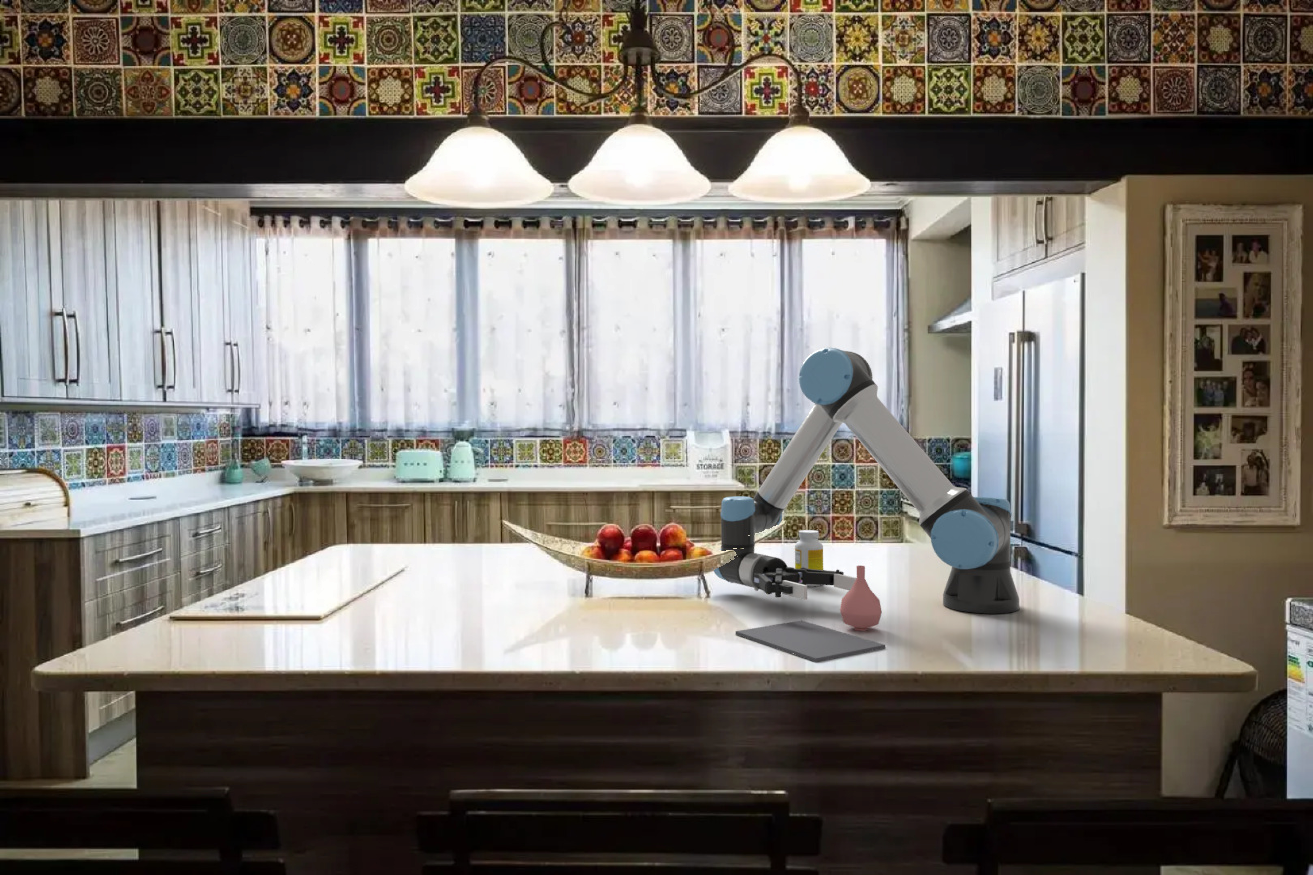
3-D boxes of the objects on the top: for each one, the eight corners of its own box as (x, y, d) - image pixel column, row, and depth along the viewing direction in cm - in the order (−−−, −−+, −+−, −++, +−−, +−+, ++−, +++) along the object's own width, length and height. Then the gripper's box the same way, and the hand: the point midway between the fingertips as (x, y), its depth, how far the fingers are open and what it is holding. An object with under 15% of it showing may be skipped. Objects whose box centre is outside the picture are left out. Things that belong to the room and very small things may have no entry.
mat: (801, 623, 174) (801, 620, 174) (885, 648, 155) (885, 644, 155) (735, 634, 166) (735, 631, 166) (815, 662, 147) (815, 658, 147)
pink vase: (875, 636, 164) (875, 571, 164) (834, 631, 168) (834, 567, 167) (886, 627, 171) (886, 564, 170) (847, 622, 174) (847, 561, 174)
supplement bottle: (827, 583, 215) (827, 530, 214) (817, 588, 209) (817, 533, 209) (801, 581, 218) (801, 528, 218) (790, 585, 213) (790, 531, 212)
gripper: (808, 584, 200) (878, 600, 182) (717, 596, 187) (782, 615, 169) (808, 550, 200) (878, 564, 182) (717, 560, 187) (782, 576, 169)
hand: (832, 589), depth 175 cm, fingers open, 13 cm apart
